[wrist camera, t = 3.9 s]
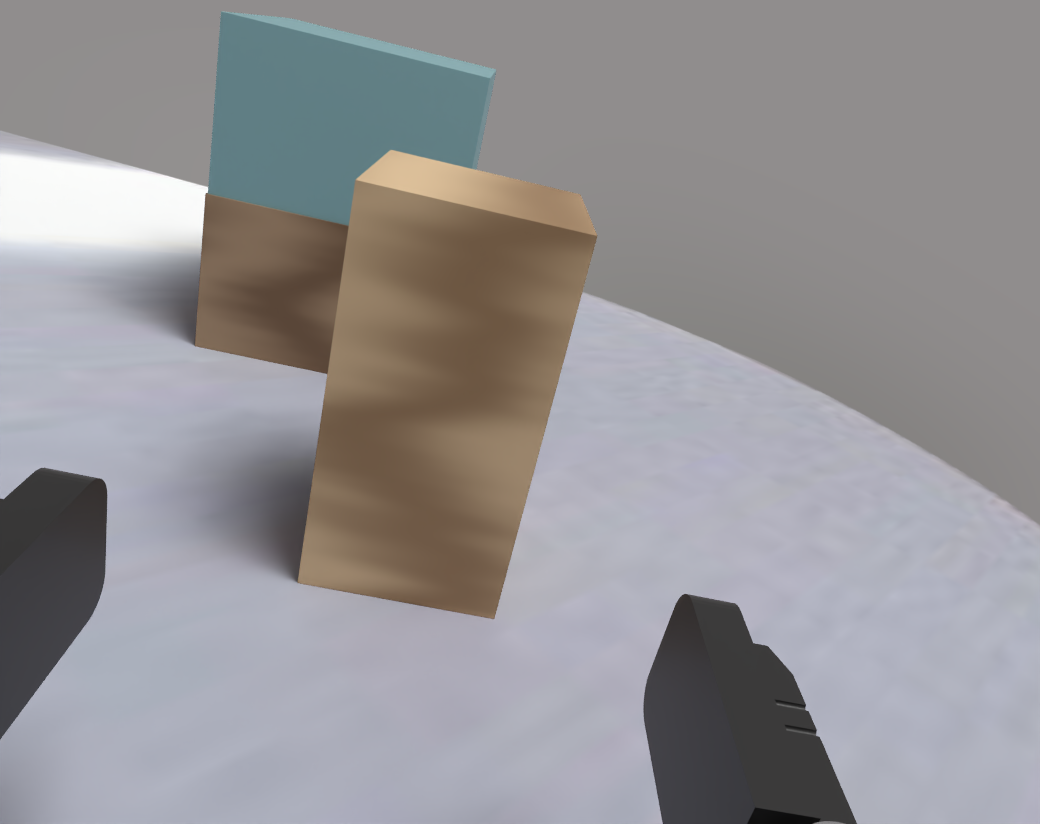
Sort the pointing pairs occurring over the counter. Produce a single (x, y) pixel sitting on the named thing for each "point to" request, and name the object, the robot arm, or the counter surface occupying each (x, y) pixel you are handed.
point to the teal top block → (332, 112)
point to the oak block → (440, 380)
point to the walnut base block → (269, 283)
